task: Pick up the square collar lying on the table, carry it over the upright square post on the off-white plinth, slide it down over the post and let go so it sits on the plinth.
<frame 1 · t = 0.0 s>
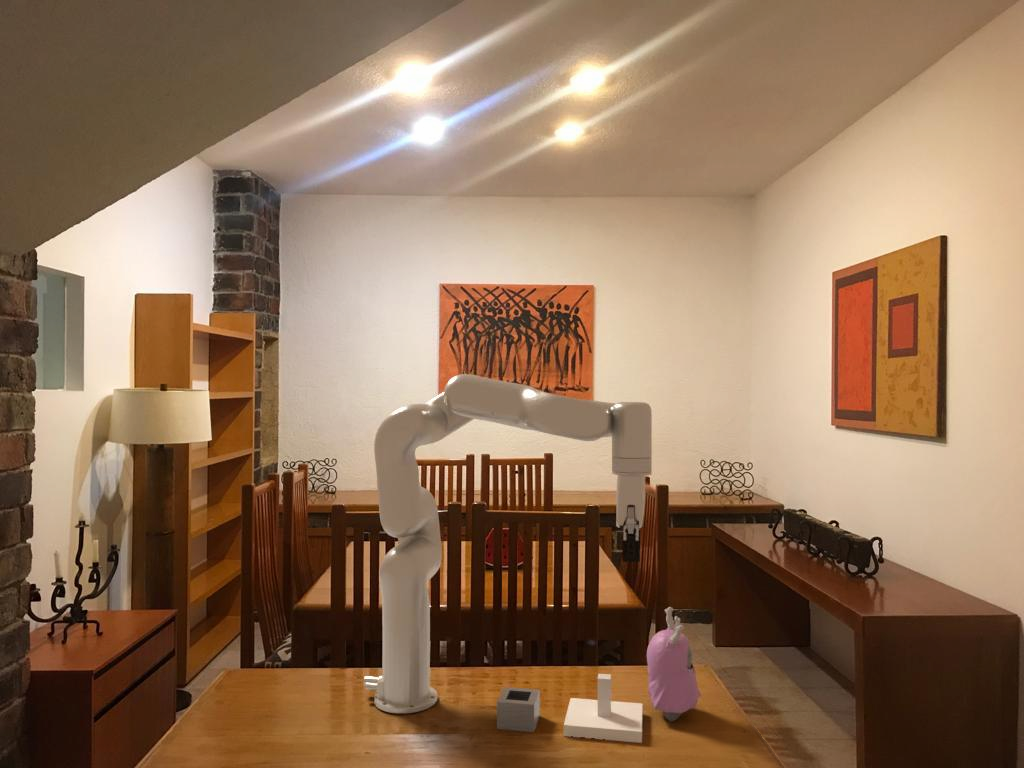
hand: (631, 555, 140), 31 cm above the table, tool pointing down, fingers open, 9 cm apart
collar: (518, 722, 138), on the table
post plinth: (604, 724, 137), on the table
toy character: (673, 715, 142), on the table
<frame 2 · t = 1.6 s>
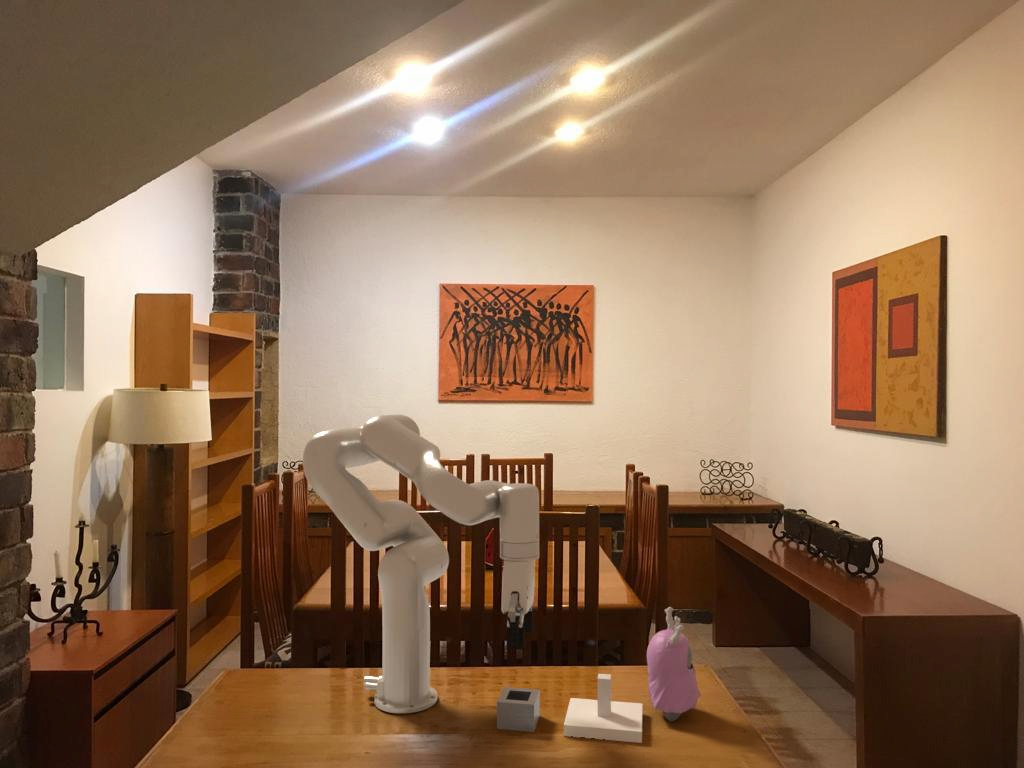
hand: (520, 639, 138), 16 cm above the table, tool pointing down, fingers open, 9 cm apart
nothing on the table moved.
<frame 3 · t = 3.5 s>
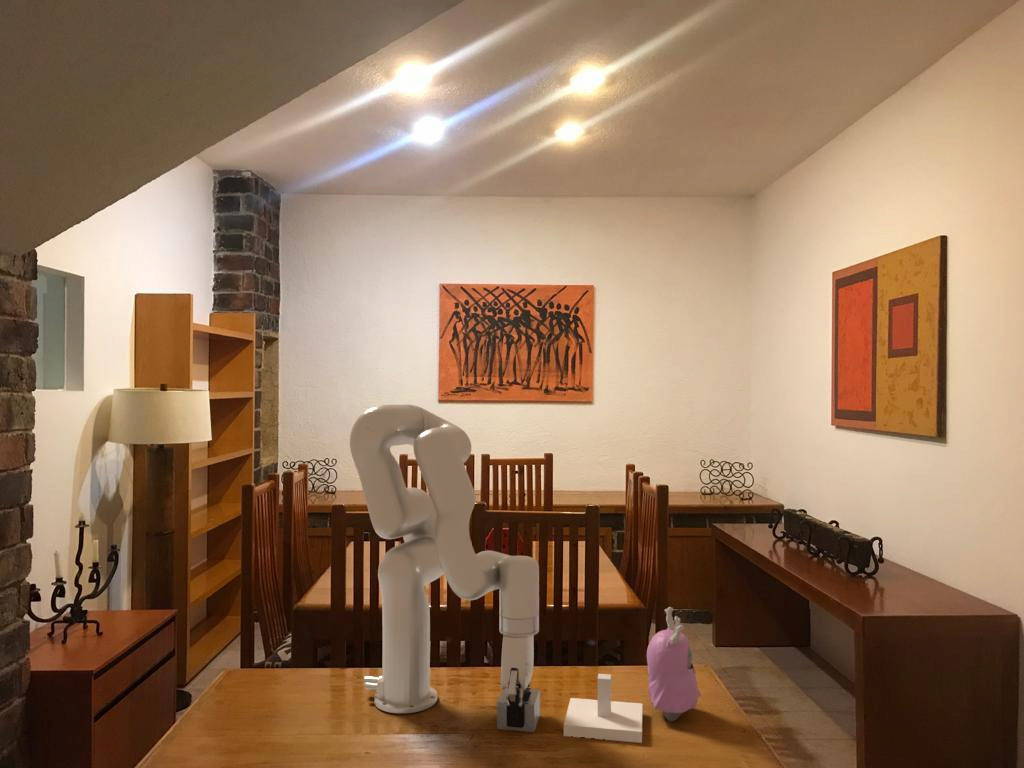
hand: (519, 716, 138), 1 cm above the table, tool pointing down, fingers closed on collar, 7 cm apart
collar: (518, 722, 138), on the table, touching gripper
everything else where it was.
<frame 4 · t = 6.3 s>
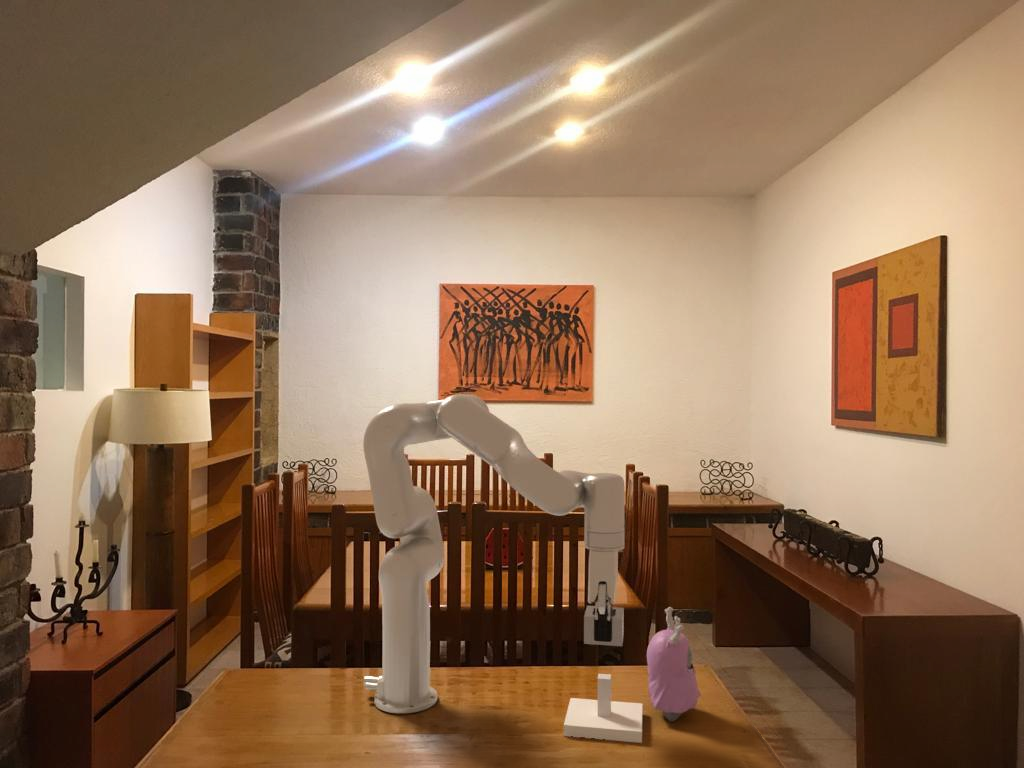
hand: (604, 633, 138), 17 cm above the table, tool pointing down, fingers closed on collar, 7 cm apart
collar: (604, 638, 138), point 16 cm above the table, touching gripper
everything else where it was.
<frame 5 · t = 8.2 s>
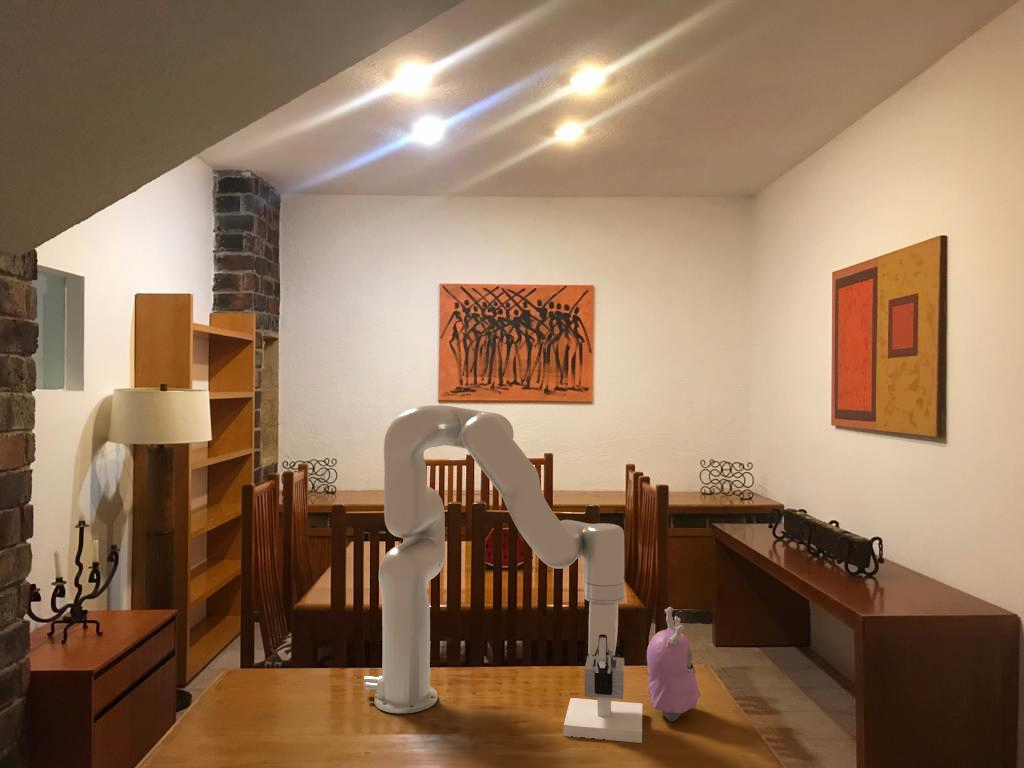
hand: (604, 684, 137), 7 cm above the table, tool pointing down, fingers closed on collar, 7 cm apart
collar: (604, 690, 137), point 6 cm above the table, touching gripper
everything else where it was.
when the fingers open (4 cm above the table, at t = 9.6 s): collar drops 1 cm, resting on post plinth.
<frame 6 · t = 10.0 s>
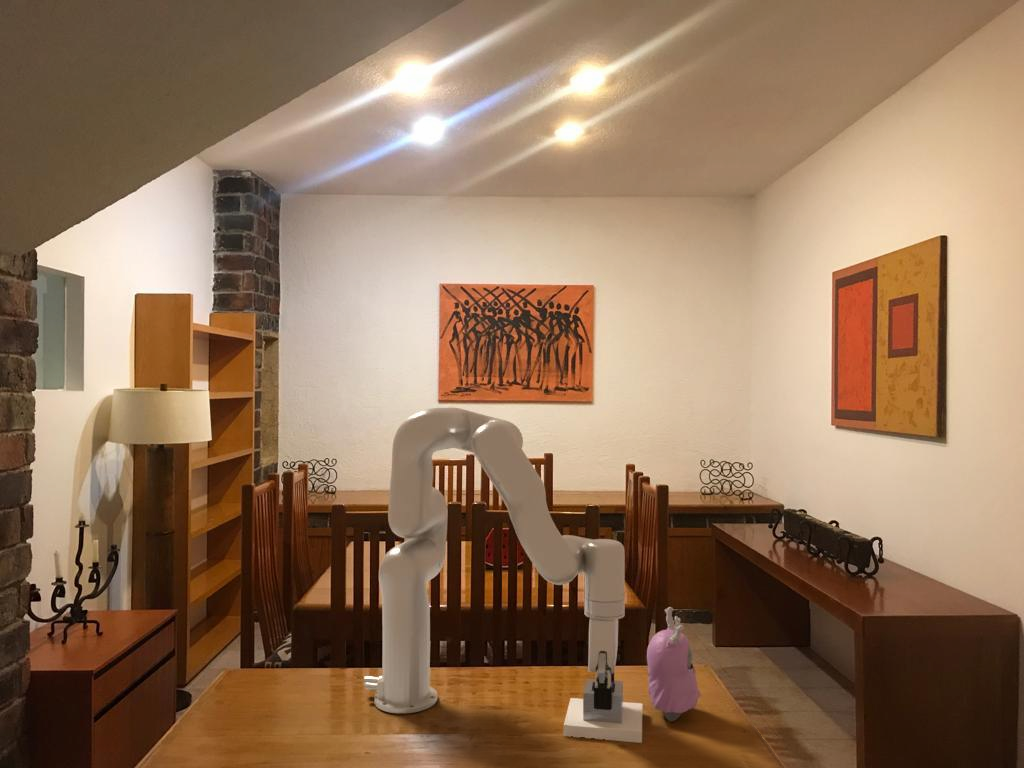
hand: (604, 697, 137), 5 cm above the table, tool pointing down, fingers open, 9 cm apart
collar: (603, 713, 137), point 2 cm above the table, touching post plinth
everything else where it was.
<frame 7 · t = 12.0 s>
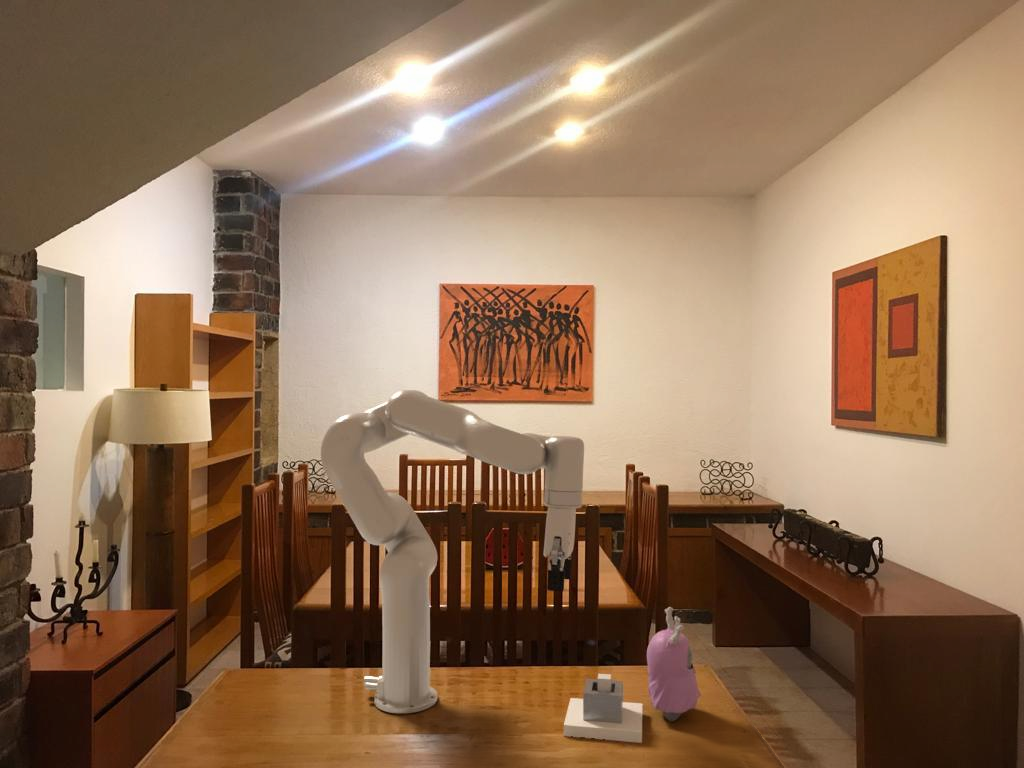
hand: (559, 584, 145), 24 cm above the table, tool pointing down, fingers open, 9 cm apart
nothing on the table moved.
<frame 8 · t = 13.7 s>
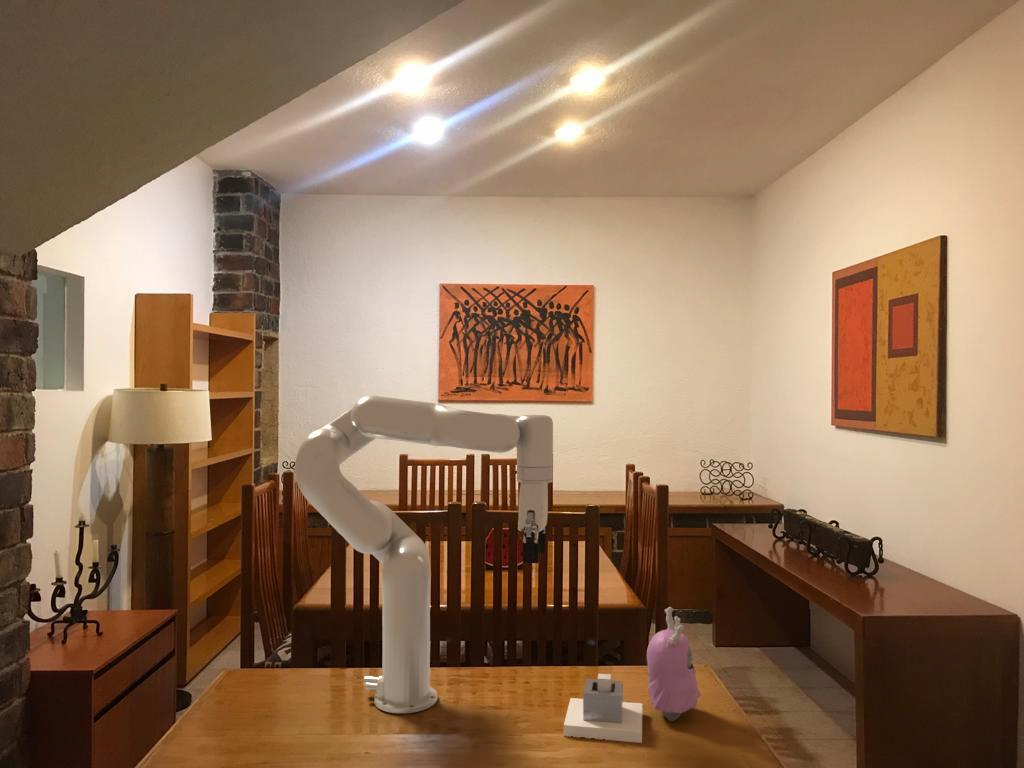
hand: (534, 557, 151), 28 cm above the table, tool pointing down, fingers open, 9 cm apart
nothing on the table moved.
at the end: collar 0.2 cm off-centre on the post plinth, point 2.0 cm above the post plinth's base; the gripper is holding nothing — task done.
